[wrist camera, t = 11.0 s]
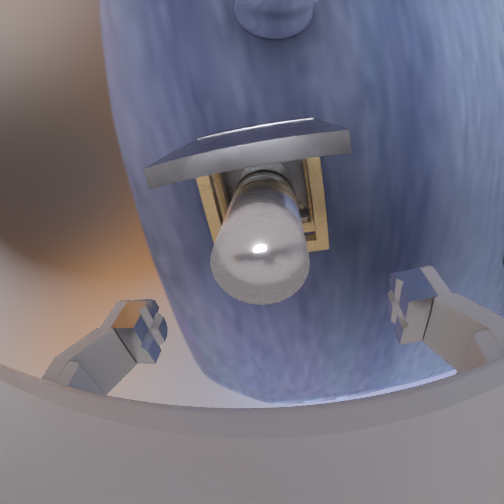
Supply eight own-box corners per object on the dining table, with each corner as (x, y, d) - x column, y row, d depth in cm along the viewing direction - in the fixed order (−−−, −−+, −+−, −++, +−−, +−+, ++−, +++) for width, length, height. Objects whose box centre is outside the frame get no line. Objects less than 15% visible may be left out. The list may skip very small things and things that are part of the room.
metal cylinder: (300, 170, 21) (328, 243, 11) (279, 214, 23) (283, 316, 13) (251, 150, 20) (229, 203, 10) (232, 196, 22) (198, 286, 12)
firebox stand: (325, 222, 24) (356, 304, 14) (225, 237, 25) (198, 322, 16) (311, 117, 20) (348, 127, 10) (199, 137, 21) (142, 166, 11)
